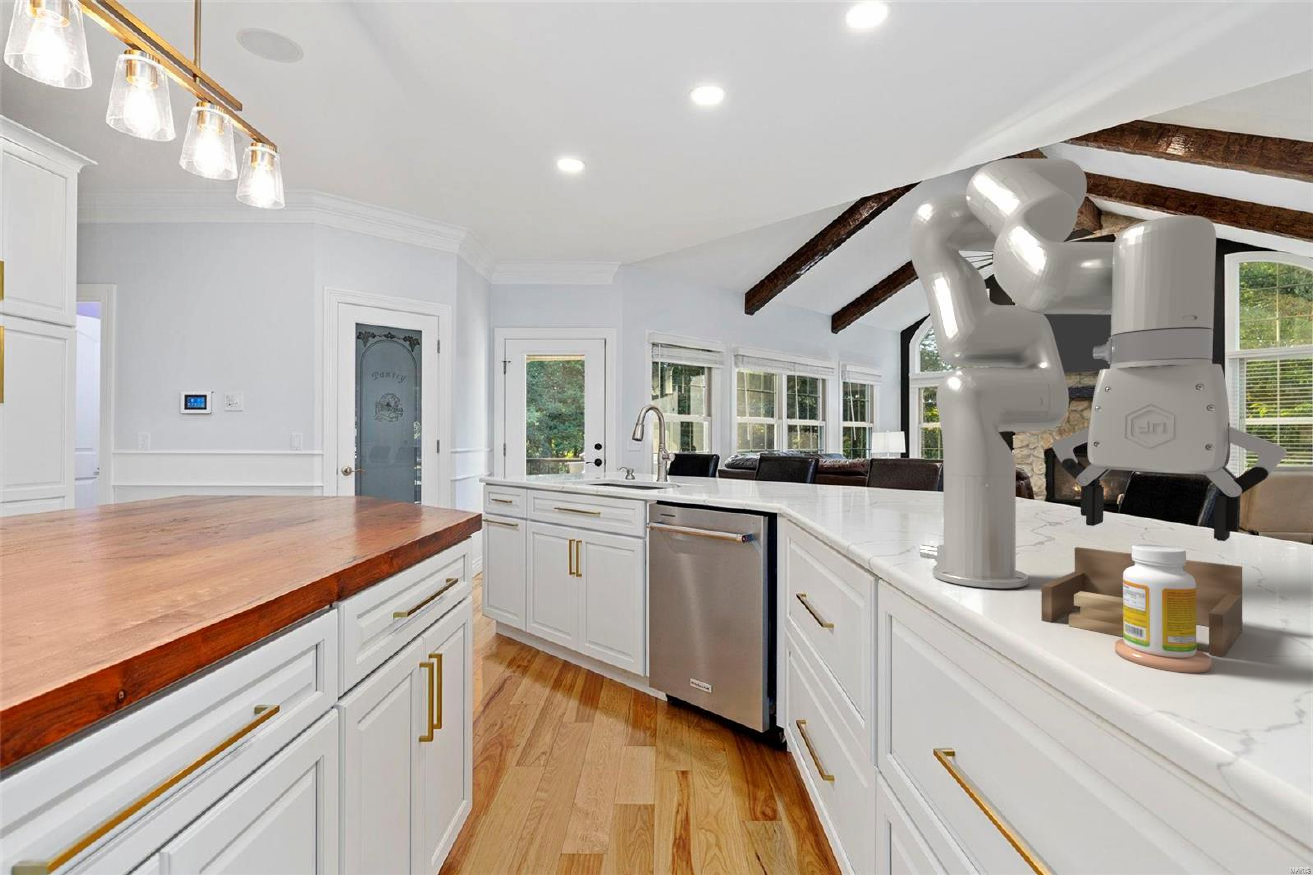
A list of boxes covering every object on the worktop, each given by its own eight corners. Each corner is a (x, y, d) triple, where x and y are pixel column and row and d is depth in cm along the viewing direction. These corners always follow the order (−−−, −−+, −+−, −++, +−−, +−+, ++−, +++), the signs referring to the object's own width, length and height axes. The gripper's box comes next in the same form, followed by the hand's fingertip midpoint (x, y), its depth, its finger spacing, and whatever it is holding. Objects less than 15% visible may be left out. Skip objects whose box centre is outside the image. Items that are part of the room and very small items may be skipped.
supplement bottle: (1198, 649, 58) (1198, 547, 58) (1194, 664, 54) (1194, 555, 54) (1127, 636, 62) (1127, 541, 62) (1118, 649, 58) (1118, 547, 58)
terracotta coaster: (1106, 657, 58) (1106, 648, 58) (1125, 641, 62) (1125, 633, 62) (1203, 679, 53) (1203, 670, 53) (1217, 660, 57) (1217, 652, 57)
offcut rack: (1041, 620, 70) (1041, 559, 70) (1077, 601, 78) (1077, 547, 78) (1223, 657, 58) (1222, 584, 58) (1242, 630, 66) (1242, 566, 66)
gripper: (1042, 357, 62) (1039, 523, 63) (1285, 341, 49) (1278, 552, 49) (1067, 362, 67) (1063, 516, 67) (1293, 348, 54) (1287, 540, 54)
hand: (1154, 531), depth 58 cm, fingers open, 9 cm apart
